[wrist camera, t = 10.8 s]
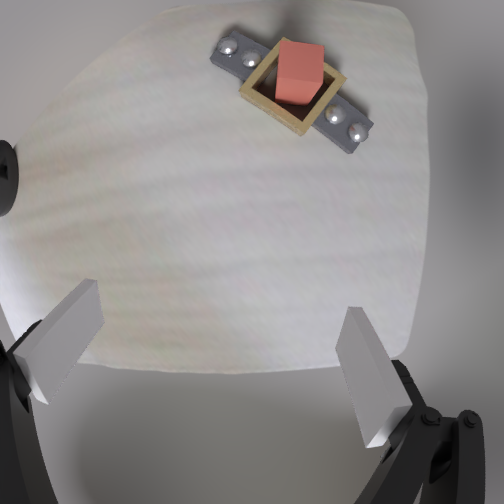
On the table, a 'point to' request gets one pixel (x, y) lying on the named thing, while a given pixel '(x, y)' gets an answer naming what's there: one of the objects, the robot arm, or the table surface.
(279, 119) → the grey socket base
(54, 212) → the table surface
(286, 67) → the link pin
